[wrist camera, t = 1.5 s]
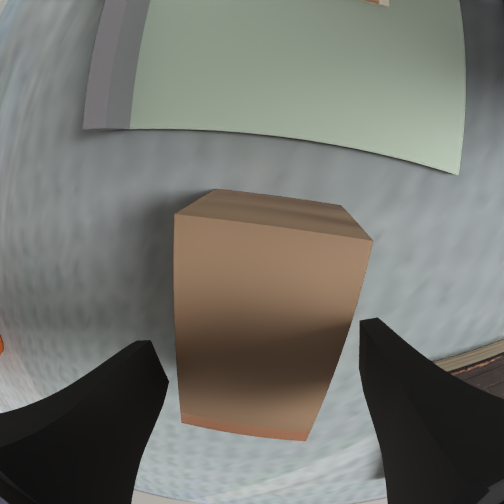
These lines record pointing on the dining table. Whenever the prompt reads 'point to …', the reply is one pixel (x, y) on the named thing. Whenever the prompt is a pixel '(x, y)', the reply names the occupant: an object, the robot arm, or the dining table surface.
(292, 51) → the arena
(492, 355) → the hardcover book
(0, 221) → the dining table surface
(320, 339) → the walnut block
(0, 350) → the paper cup
